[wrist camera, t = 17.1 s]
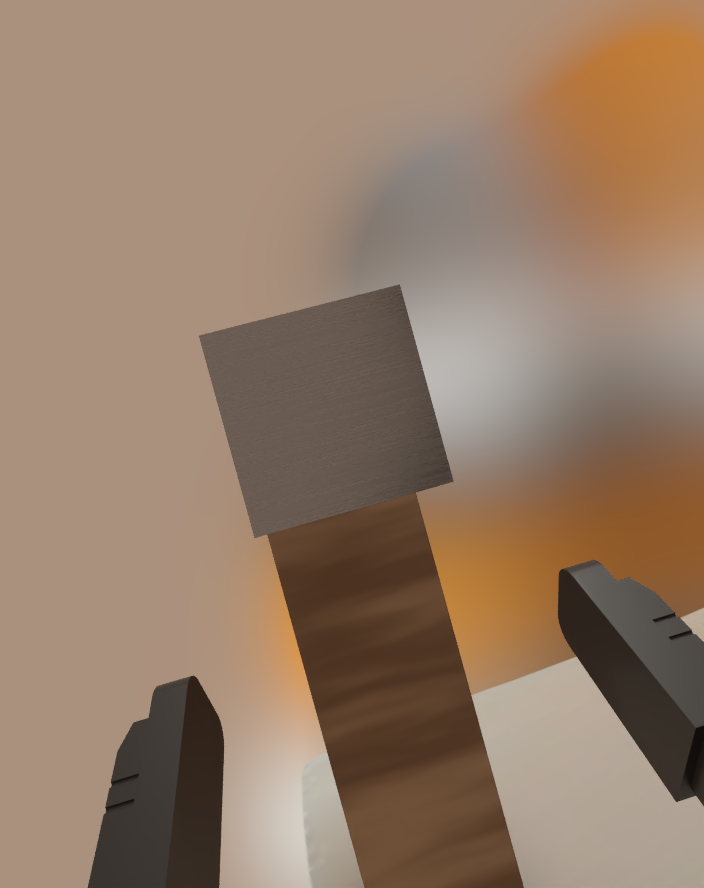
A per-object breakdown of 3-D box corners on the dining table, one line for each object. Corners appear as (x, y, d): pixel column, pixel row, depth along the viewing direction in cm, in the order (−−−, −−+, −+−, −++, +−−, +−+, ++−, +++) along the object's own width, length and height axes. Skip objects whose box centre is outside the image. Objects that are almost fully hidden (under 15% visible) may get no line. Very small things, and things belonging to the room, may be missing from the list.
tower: (564, 1035, 27) (380, 363, 26) (419, 1088, 26) (231, 402, 26) (488, 854, 39) (361, 390, 38) (388, 887, 38) (259, 417, 38)
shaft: (453, 482, 7) (399, 284, 7) (255, 537, 7) (198, 335, 7) (348, 456, 34) (336, 414, 34) (305, 468, 34) (293, 425, 34)
